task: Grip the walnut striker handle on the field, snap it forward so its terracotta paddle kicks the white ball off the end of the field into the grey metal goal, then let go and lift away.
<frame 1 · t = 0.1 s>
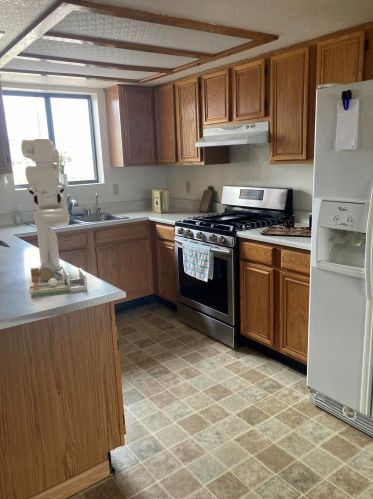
hand: (48, 203, 189), 37 cm above the worktop, tool pointing down, fingers open, 9 cm apart
goal: (74, 287, 184), on the worktop
striker: (35, 278, 176), point 6 cm above the worktop, slide at 0.0 cm
field: (48, 291, 180), on the worktop
ball: (52, 282, 180), point 3 cm above the worktop, touching field
ceramic mug: (50, 279, 199), on the worktop
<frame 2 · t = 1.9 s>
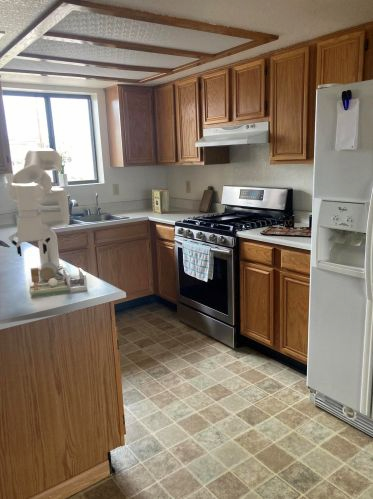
hand: (32, 254, 174), 17 cm above the worktop, tool pointing down, fingers open, 9 cm apart
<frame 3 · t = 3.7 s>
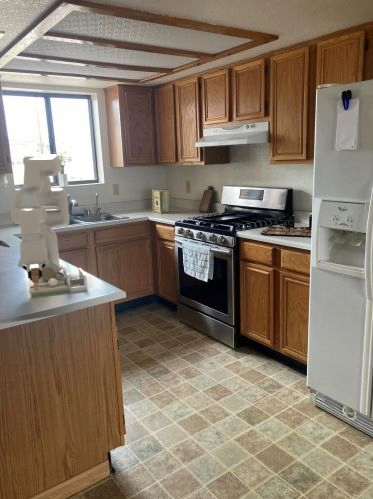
hand: (35, 278, 177), 6 cm above the worktop, tool pointing down, fingers closed on striker, 3 cm apart
striker: (35, 278, 177), point 6 cm above the worktop, slide at 0.0 cm, touching gripper
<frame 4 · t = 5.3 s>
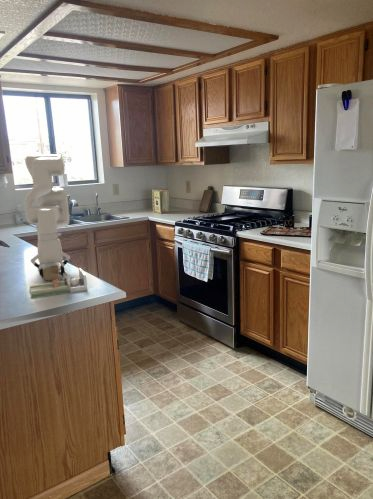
hand: (52, 275, 179), 7 cm above the worktop, tool pointing down, fingers open, 7 cm apart
striker: (54, 276, 180), point 6 cm above the worktop, slide at 8.0 cm
ball: (74, 282, 184), point 2 cm above the worktop, tilted 127°, touching goal
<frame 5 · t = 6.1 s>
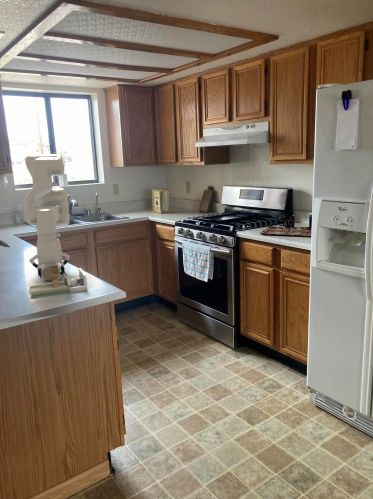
hand: (51, 275, 179), 7 cm above the worktop, tool pointing down, fingers open, 8 cm apart
ball: (72, 282, 183), point 2 cm above the worktop, tilted 157°, touching goal
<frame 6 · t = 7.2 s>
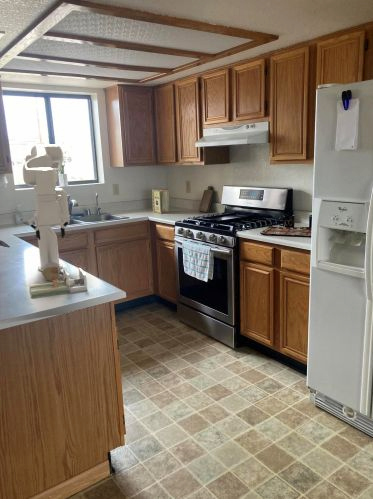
hand: (51, 238, 176), 23 cm above the worktop, tool pointing down, fingers open, 9 cm apart
ball: (70, 283, 183), point 2 cm above the worktop, tilted 174°, touching goal
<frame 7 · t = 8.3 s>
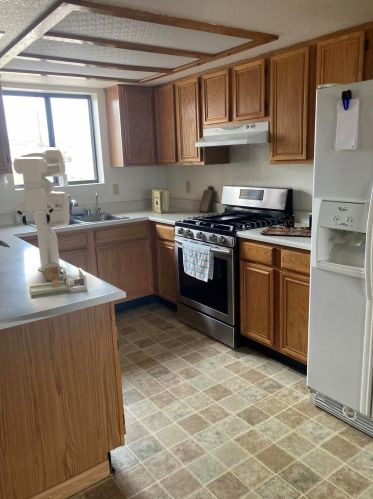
hand: (36, 224, 185), 28 cm above the worktop, tool pointing down, fingers open, 9 cm apart
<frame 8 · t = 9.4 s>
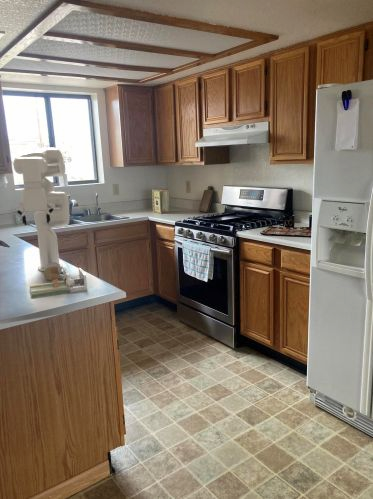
hand: (36, 223, 185), 28 cm above the worktop, tool pointing down, fingers open, 9 cm apart
at the end: ball inside the target area (2.1 cm from its centre), point 2.3 cm above the worktop; striker slide at 8.0 cm; the gripper is holding nothing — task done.
